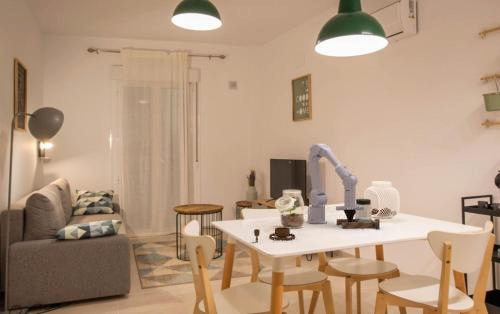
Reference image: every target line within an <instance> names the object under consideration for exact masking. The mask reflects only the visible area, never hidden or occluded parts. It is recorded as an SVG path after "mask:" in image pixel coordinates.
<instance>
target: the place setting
mask: <svg viewBox="0 0 500 314" xmlns="http://www.w3.org/2000/svg"><path fill="white" fill-rule="evenodd" d="M290 230H291V228H290V227H286V226H285V227H284V226H283V227H281V226H279V227H275V228H274V232H273V233H271V234H269V235H268V236H269V239H271V240H273V239H275V240H274V241H280V240H286V241H292V239H293V240H294V239H295V238H296V235H295V234H294V233H291V231H290ZM253 234H254V237H255V243H259V241H258V240H259V239H258V238H259V236H260V229H258V228H257V229H253ZM272 236H274V237H272ZM290 236H291V237H290Z"/></svg>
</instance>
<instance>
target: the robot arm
mask: <svg viewBox="0 0 500 314" xmlns="http://www.w3.org/2000/svg"><path fill="white" fill-rule="evenodd" d="M322 157H324V158H326V159H327V160H328V161H329V163H331V165H332V166H333V167H334V171H335V173H336V174H337V175H338V177H339V178H340V179H341V180H342V181H341V183H342V185H343V187H344V188H343V189H344V194H343V195H344V197H343V200H344V201H343V202H344V205H340V206H335V210H336V211H337V212H338V211H343V212H344V214H345V217H346V219H347V221H348V222H352V220H353V219H354V218H355V213H356V211H355V210H364V207H363V206H355V204H356V194H357V193H356V191H357V189H356V186H357V185H358V178H357V176H356V175H355V174H353V173H352V172H350V171H349V169H348V168H347V167H348V166H347V165H345V164H343V163H341V162H340V161H339V160H338V158H337V157H336V156H335V153H333V151H332V149H331V147H330V146H329V145H328V144H327V143H323V142H322V143H317V142H316V143H315V142H314V143H313V144H312V145H311V146H310V147H309V154H308V158H307V159H308V167H309V175H310V181H311V187H312V188H311V191H310V193H309V200H308V201H309V204H310V205H311V206H308V207H307V222H308V223H310V224H328V222H327V221H326V205H327V202H328V196H327V195H326V191H325V190H324V189H323V184H322V178H321V170H320V164H319V163H320V162H319V161H320V160H321V158H322Z"/></svg>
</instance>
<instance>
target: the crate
mask: <svg viewBox="0 0 500 314" xmlns="http://www.w3.org/2000/svg"><path fill="white" fill-rule="evenodd" d="M372 220H373V219H372V217H371V218H369V217H358V222H372Z"/></svg>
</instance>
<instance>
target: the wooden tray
mask: <svg viewBox="0 0 500 314" xmlns="http://www.w3.org/2000/svg"><path fill="white" fill-rule="evenodd" d="M380 222H381V221H380V218H374V220H373V219H372V222H358V219H355V218H353V220H352V222H348V221H347V218H336V226H341V228H342V230H343V229H345V230H347V229H350V230H351V229H352V230H353V229H354V230H355V229H375V230H380V229H381V228H380V225H381V224H380Z"/></svg>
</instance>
